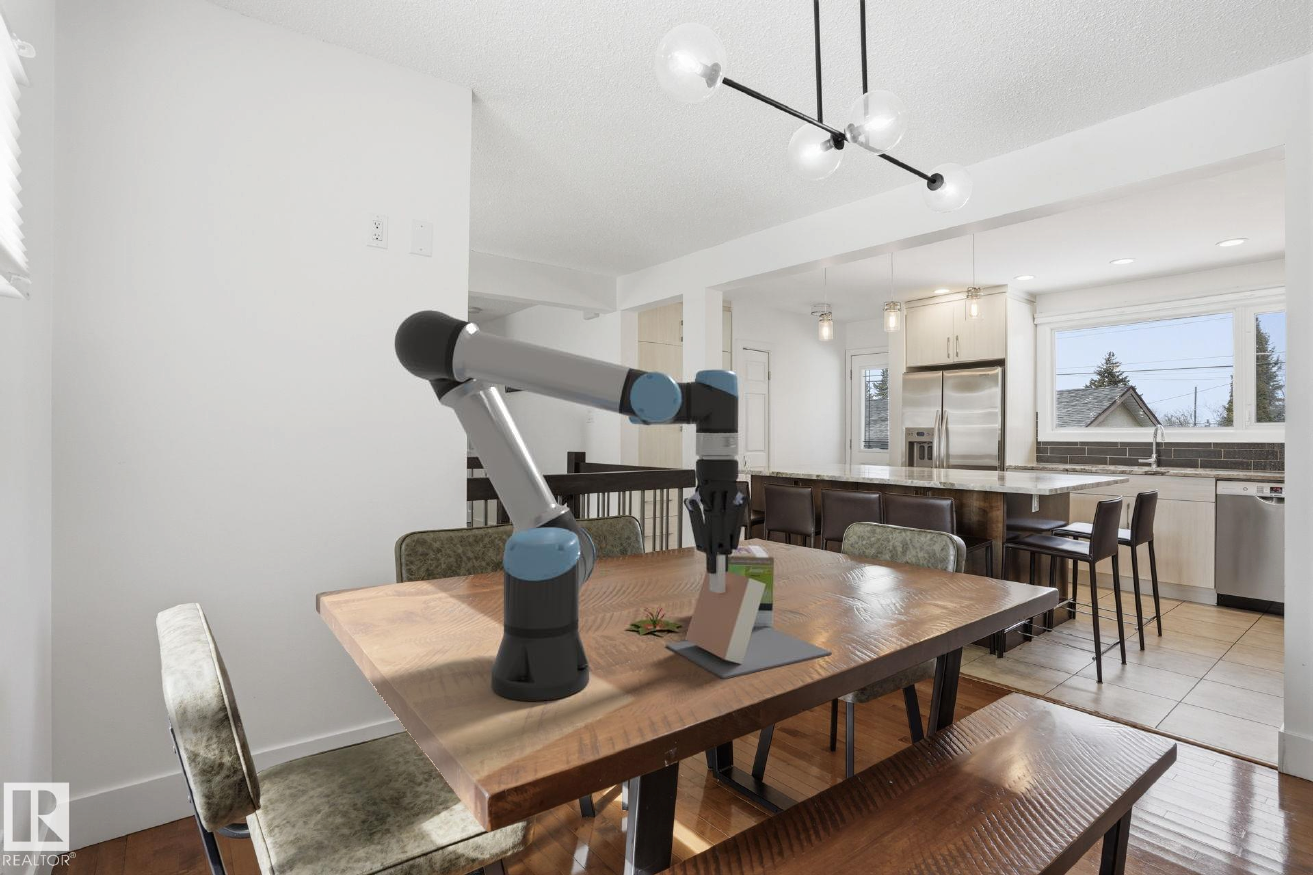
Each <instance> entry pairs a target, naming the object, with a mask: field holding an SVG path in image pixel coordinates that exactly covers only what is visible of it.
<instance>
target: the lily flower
mask: <svg viewBox="0 0 1313 875" xmlns="http://www.w3.org/2000/svg"><path fill="white" fill-rule="evenodd" d="M658 609H659V607H657V608H656V612H655V614H654V609H652V610H653V611H650V610H649V609H648V607H644V610H643V611H645V612H647V613H646V615H645V618H646V619H644V620H643V619H640V620H637V621H634V622H631V623H630V624H633V625H631V626H629V627H628V628H625V629H624V630H625V631H639V636H642V635H645V634H647V633H651V634H654V635H656V636H659V637H662V638H664V637H665V636H666V634H667V633H668V630H670V631H673V632H678V633H680V631H679V629H678V628H677V627H681V626H682V624H681V623H677V622H670V620H668V619H662V618H665V615H666V613H663V614H662V615H661V617H660V618H659V615H660V614H661V612H662V609H663V607H661V608H660V609H659V611H658ZM652 627H653V629H650V628H652ZM657 627H658V628H659V631H660V630H662V631H661V632H660V633H658V632H654V631H655V629H657Z"/></svg>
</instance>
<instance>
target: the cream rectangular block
mask: <svg viewBox="0 0 1313 875" xmlns="http://www.w3.org/2000/svg"><path fill="white" fill-rule="evenodd" d="M765 585H766V584H764V583H762V582H759V581H756V580H754V579H751V578H748V577H745V576H741V575H738V574H735V573H732V572H725V593H716V592H713V591H710V573H707V571H706V573H705V575H704V578H703V581H702V584H701V588H700V590H699V593H698V598H697V600H696V604H695V607H694V611H693V613H692V617H691V619H690V622H689V625H688V629H687V632H686V635H685V639H684V640H685V641H687V640H688V641H690V642H692V643H694V644H695V645H697V646H699V647H701V648H703V649H705V650H707V651H709V652H711V653H713V654H715V655H717V656H719V657H721V658H723V659H725V660H728V661H732V662H736V663H739V664H742V662H743V659H744V655H745V652H746V649H747V645H748V642H749V639H750V635H751V632H752V628H754V627H753V625H754V622H755V618H756V615H757V612H758V608H759V605H760V602H761V598H762V595H763V592H764V588H765Z"/></svg>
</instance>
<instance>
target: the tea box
mask: <svg viewBox="0 0 1313 875" xmlns="http://www.w3.org/2000/svg"><path fill="white" fill-rule="evenodd" d="M732 551H733V552H732V554H731V555H728V572H732V573H735V574H738V575H741V576H745V577H748V578H751V579H754V580H756V581H759V582H762V583H764V584H766V585H765V588H764V592H763V595H762V598H761V602H760V605H759V608H758V612H757V615H756V618H755V622H754V625H753V628H757V627H763V626H768V627H770V628H772V626H773V624H774V623H773V621H774V620H773V619H774V617H773V616H774V608H773V607H774V585H775V584H774V582H775V580H774V578H775V577H774V573H775V557H774V556H773V554H771V553H770V552H769V551H768V550H767V549H766V547H764V546H763V545H744V544H743V545H738V548H737V549H736V550H732Z"/></svg>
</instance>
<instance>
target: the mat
mask: <svg viewBox="0 0 1313 875" xmlns="http://www.w3.org/2000/svg"><path fill="white" fill-rule="evenodd" d="M665 647H666V648H667V649H670V650H671V651H672V652H675V653H677V654H678V655H681V656H682V657H683V658H685V659H688V660H689V661H691V662H693V663H695V664H696V665H698V666H700V667H701V668H703V669H705V670H707V671H709V672H711V674H712V673H713V674H714V675H715V676H718V677H720V678H721V679H722V680H725V679H730V678H735V677H739V676H743V675H749V674H751V673H755V672H760V671H764V670H765V671H766V670H769V669H773V668H779V667H782V666H786V665H791V664H795V663H799V662H805V661H809V660H812V659H813V660H814V659H818V658H821V657H825V656H830V655H833V652H832V651H830V650H827V649H825V648H822V647H820V646H818V645H816V644H812V643H810V642H807V641H805V640H803V639H800V638H798V637H795V636H792V635H790V634H787V633H784V632H783V631H780V630H777V629H774V628H772V627H768V626H763V627H753V628H752V632H751V635H750V639H749V642H748V645H747V649H746V652H745V655H744V659H743V662H742V664H739V663H736V662H732V661H728V660H725V659H723V658H721V657H719V656H717V655H715V654H713V653H711V652H709V651H707V650H705V649H703V648H701V647H699V646H697V645H695V644H694V643H692V642H690V641H688V640H681V641H677V642H672V643H666V644H665Z"/></svg>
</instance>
